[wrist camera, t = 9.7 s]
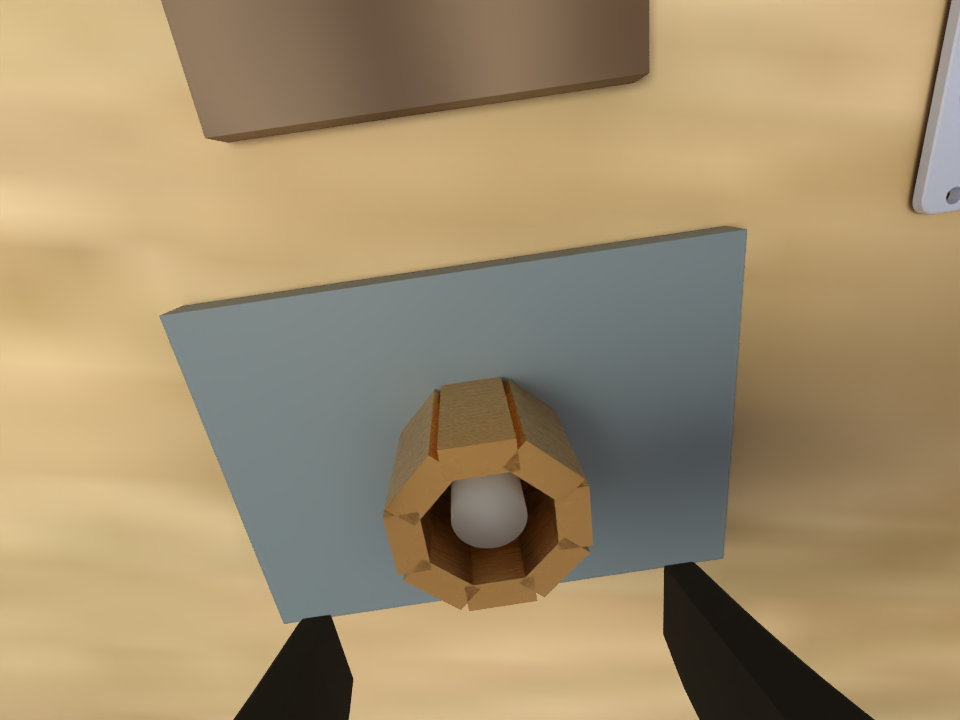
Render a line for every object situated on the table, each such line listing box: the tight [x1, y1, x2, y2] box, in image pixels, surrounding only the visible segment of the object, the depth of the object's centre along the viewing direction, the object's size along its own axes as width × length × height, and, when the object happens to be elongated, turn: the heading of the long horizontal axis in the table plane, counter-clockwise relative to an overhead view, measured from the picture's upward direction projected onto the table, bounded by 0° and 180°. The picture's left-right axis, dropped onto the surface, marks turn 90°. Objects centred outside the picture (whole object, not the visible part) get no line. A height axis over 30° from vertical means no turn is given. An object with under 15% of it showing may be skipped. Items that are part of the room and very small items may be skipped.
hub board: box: [160, 226, 747, 624], centre depth 15 cm, size 18×13×4 cm
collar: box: [383, 377, 593, 611], centre depth 14 cm, size 6×6×4 cm
